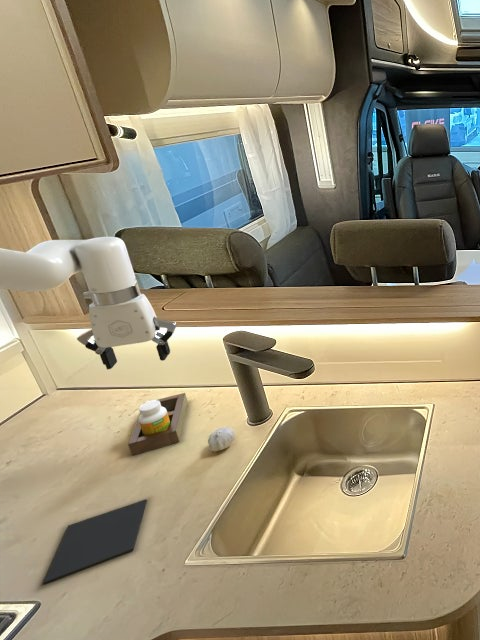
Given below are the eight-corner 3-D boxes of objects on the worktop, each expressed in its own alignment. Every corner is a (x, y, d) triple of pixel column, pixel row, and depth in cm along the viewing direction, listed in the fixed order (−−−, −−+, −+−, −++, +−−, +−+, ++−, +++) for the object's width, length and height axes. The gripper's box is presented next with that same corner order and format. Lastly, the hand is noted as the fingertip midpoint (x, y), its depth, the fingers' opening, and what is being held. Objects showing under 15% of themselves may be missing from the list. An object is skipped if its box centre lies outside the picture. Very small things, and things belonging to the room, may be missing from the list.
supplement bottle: (158, 446, 101) (147, 414, 98) (140, 442, 102) (128, 411, 99) (178, 430, 106) (169, 399, 103) (161, 427, 107) (151, 396, 104)
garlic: (225, 456, 99) (221, 439, 97) (203, 455, 99) (198, 438, 97) (242, 437, 104) (238, 420, 103) (221, 436, 105) (216, 419, 103)
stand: (132, 455, 98) (128, 444, 97) (146, 413, 111) (143, 402, 110) (179, 441, 103) (175, 430, 101) (188, 402, 116) (185, 392, 115)
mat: (43, 584, 72) (42, 582, 72) (69, 527, 82) (68, 525, 81) (133, 550, 78) (132, 548, 77) (147, 500, 87) (146, 499, 87)
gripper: (52, 307, 82) (81, 379, 88) (159, 295, 89) (179, 363, 94) (73, 292, 89) (98, 360, 95) (171, 282, 95) (189, 346, 101)
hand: (139, 361), depth 94 cm, fingers open, 9 cm apart
